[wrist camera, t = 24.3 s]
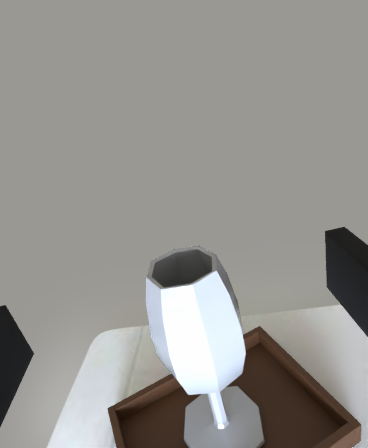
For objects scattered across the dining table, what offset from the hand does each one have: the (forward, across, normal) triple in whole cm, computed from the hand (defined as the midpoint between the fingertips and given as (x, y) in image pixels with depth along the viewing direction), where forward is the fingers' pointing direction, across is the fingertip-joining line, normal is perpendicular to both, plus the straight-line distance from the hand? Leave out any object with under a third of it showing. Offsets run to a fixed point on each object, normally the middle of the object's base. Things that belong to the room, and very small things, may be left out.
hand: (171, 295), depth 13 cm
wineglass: (+11, 0, -27) cm, 29 cm away
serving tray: (+11, 0, -27) cm, 29 cm away
